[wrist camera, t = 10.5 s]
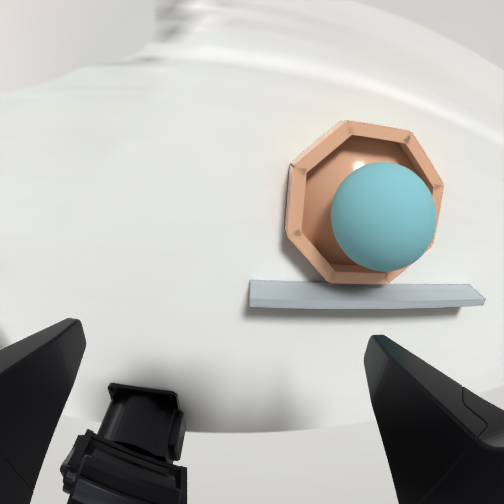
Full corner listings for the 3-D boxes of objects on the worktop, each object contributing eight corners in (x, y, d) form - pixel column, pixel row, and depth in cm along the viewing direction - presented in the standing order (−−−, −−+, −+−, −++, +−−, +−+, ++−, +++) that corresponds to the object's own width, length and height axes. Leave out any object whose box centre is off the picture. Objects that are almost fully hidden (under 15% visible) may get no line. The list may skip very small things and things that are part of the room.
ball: (315, 246, 20) (340, 291, 15) (324, 151, 18) (358, 161, 13) (397, 250, 21) (442, 290, 15) (411, 163, 19) (466, 179, 13)
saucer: (280, 271, 21) (282, 281, 20) (292, 115, 18) (296, 114, 16) (414, 275, 22) (422, 284, 20) (437, 138, 18) (449, 140, 17)
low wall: (249, 287, 22) (249, 306, 20) (250, 279, 22) (249, 298, 19) (467, 290, 22) (483, 305, 20) (469, 284, 22) (485, 298, 20)
